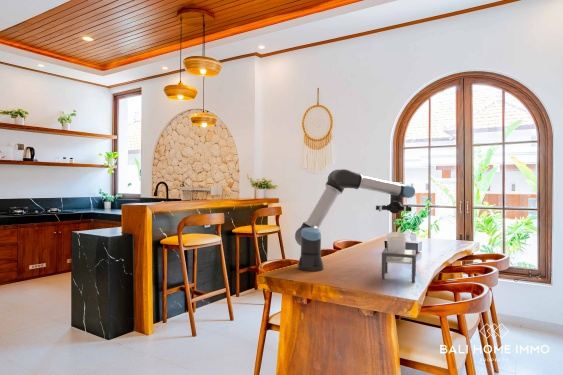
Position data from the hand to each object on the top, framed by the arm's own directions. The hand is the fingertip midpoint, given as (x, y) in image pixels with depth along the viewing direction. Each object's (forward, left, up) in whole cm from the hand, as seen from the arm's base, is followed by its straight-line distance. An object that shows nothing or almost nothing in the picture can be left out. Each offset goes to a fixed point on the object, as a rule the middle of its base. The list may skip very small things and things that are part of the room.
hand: (392, 209), depth 221 cm
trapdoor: (+5, -11, -25) cm, 28 cm away
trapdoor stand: (+5, -12, -36) cm, 38 cm away
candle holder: (+4, -12, -25) cm, 28 cm away
